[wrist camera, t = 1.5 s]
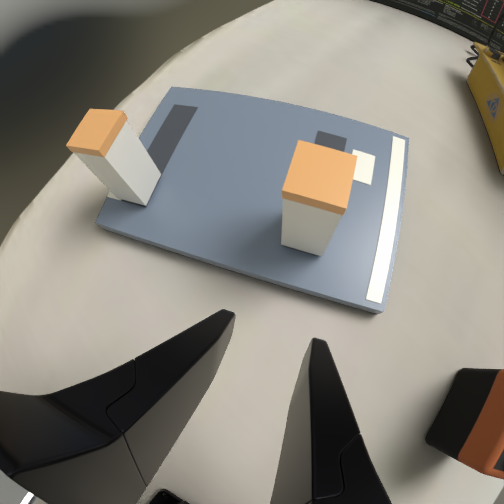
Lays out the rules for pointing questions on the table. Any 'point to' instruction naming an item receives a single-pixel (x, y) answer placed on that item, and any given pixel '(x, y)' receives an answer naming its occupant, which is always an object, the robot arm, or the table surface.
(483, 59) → the geiger counter
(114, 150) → the tab
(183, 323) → the table surface
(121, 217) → the switch bank
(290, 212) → the tab
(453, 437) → the battery
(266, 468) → the table surface
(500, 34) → the router box
